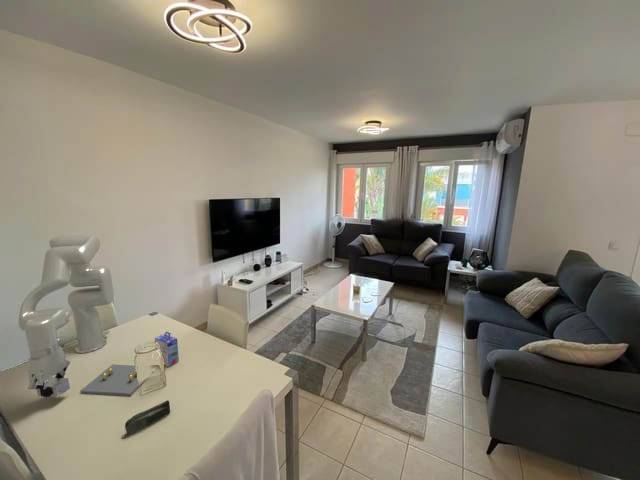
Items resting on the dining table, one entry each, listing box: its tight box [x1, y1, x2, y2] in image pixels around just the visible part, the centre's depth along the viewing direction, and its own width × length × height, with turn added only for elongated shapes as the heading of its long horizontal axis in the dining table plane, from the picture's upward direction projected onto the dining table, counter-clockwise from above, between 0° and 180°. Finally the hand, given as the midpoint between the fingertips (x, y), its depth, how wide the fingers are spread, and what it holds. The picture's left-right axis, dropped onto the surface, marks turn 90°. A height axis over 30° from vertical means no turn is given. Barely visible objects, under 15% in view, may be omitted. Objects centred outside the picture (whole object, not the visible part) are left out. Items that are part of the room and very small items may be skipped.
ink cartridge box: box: [154, 330, 180, 368], centre depth 125 cm, size 10×6×14 cm, turn 64°
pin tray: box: [79, 363, 140, 397], centre depth 113 cm, size 16×21×4 cm
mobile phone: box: [121, 400, 171, 439], centre depth 93 cm, size 5×3×15 cm
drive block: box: [35, 376, 71, 399], centre depth 101 cm, size 5×8×5 cm, turn 88°
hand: (53, 390), depth 101 cm, fingers closed on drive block, 4 cm apart
